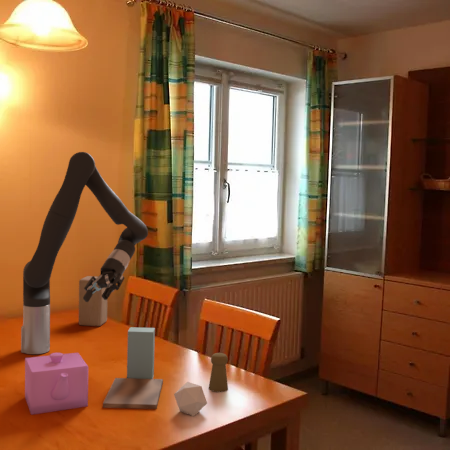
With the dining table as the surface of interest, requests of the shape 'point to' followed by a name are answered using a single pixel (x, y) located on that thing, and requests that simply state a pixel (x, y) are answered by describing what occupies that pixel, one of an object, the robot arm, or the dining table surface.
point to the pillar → (140, 353)
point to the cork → (218, 373)
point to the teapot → (56, 382)
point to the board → (134, 393)
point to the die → (190, 398)
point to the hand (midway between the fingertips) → (94, 299)
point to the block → (91, 305)
